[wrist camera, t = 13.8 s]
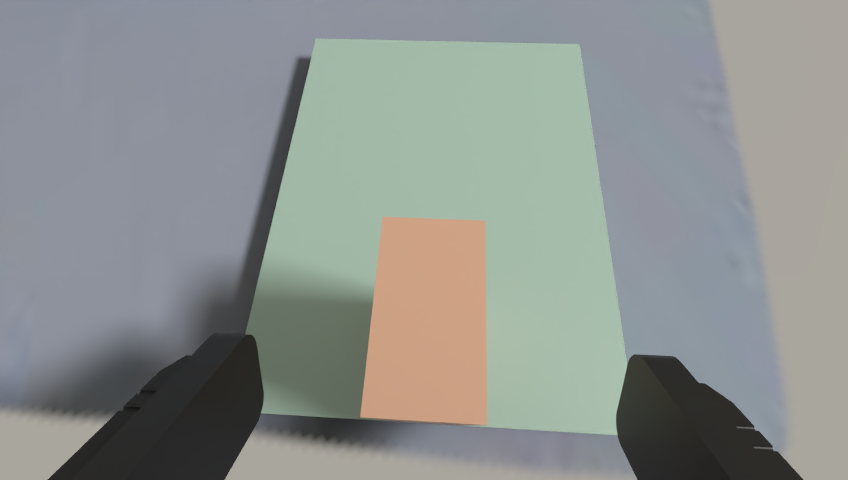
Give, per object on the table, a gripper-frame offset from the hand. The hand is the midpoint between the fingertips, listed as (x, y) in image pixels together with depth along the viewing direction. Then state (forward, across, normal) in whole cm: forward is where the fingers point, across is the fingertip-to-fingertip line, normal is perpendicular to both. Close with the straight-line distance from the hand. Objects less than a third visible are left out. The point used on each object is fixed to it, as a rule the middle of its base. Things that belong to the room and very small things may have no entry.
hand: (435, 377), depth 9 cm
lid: (+9, 0, -1) cm, 9 cm away
